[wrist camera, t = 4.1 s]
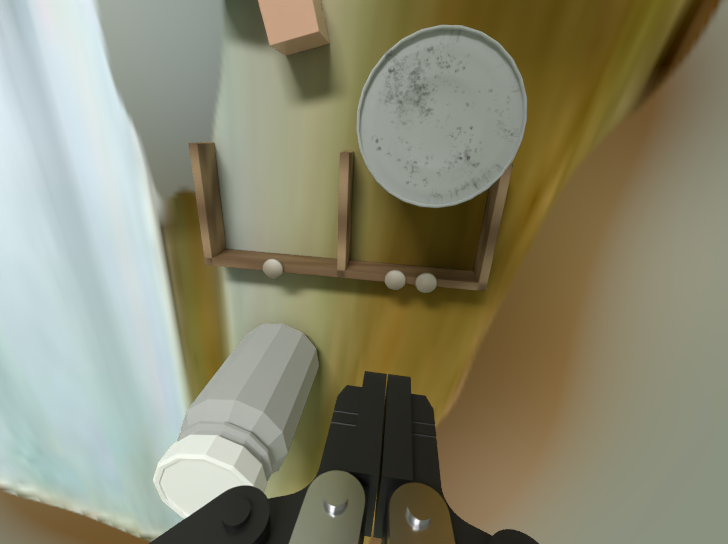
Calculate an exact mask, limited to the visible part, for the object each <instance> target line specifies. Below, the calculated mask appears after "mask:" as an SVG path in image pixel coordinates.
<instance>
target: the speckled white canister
mask: <svg viewBox="0 0 728 544" xmlns="http://www.w3.org/2000/svg"><path fill="white" fill-rule="evenodd" d="M526 121H527V96H526V92H525V87H524V83H523V78H522V76H521V74H520V72H519V70H518V68H517V66H516V64H515V62H514V60H513V58H512V57H511V56H510V55H509V54H508V52H507V51H506V50H505V49H504V48H503V47H502V46H501V44H500V43H499V42H497V41H495V40H494V39H492V38H491V37H489V36H488V35H486V34H485V33H483V32H481V31H478V30H475V29H472V28H469V27H465V26H462V25H439V26H434V27H430V28H426V29H422V30H419V31H417V32H415V33H413V34H411V35H409V36H407V37H405V38H403V39H401V40H400V41H399V42H398V43H397V44H395V45H394V46H393V47H392V48H391V49H390V50H388V51H387V52H386V53H385V54H384V55H383V56H382V58H381V59H380V60H379V62H378V63H377V64H376V66H375V67H374V68H373V70H372V71H371V73H370V75H369V77H368V79H367V81H366V83H365V86H364V88H363V90H362V93H361V97H360V101H359V106H358V110H357V136H358V142H359V148H360V151H361V154H362V157H363V159H364V162H365V164H366V167H367V168H368V170H369V171H370V173H371V174H372V175H373V177H374V178H375V180H376V181H377V182H378V183H379V184H380V185H381V186H382V187H383V188H384V189H385V190H386V191H387V192H388V193H390V194H391V195H393V196H395V197H397V198H398V199H400V200H402V201H403V202H406V203H410V204H413V205H416V206H419V207H431V208H441V207H447V206H454V205H457V204H460V203H463V202H465V201H468V200H471V199H473V198H474V197H476V196H478V195H479V194H481V193H482V192H484V191H486V190H487V189H488V188H490V187H491V186H492V185H493V184H494V183H495V182H496V181H497V180H498V179H499V178H500V177H501V176H502V175H503V174H504V172H505V171H506V169H507V168H508V167H509V165H510V164H511V162H512V161H513V159H514V158H515V155H516V153H517V151H518V149H519V146H520V144H521V142H522V139H523V135H524V130H525V125H526Z"/></svg>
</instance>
